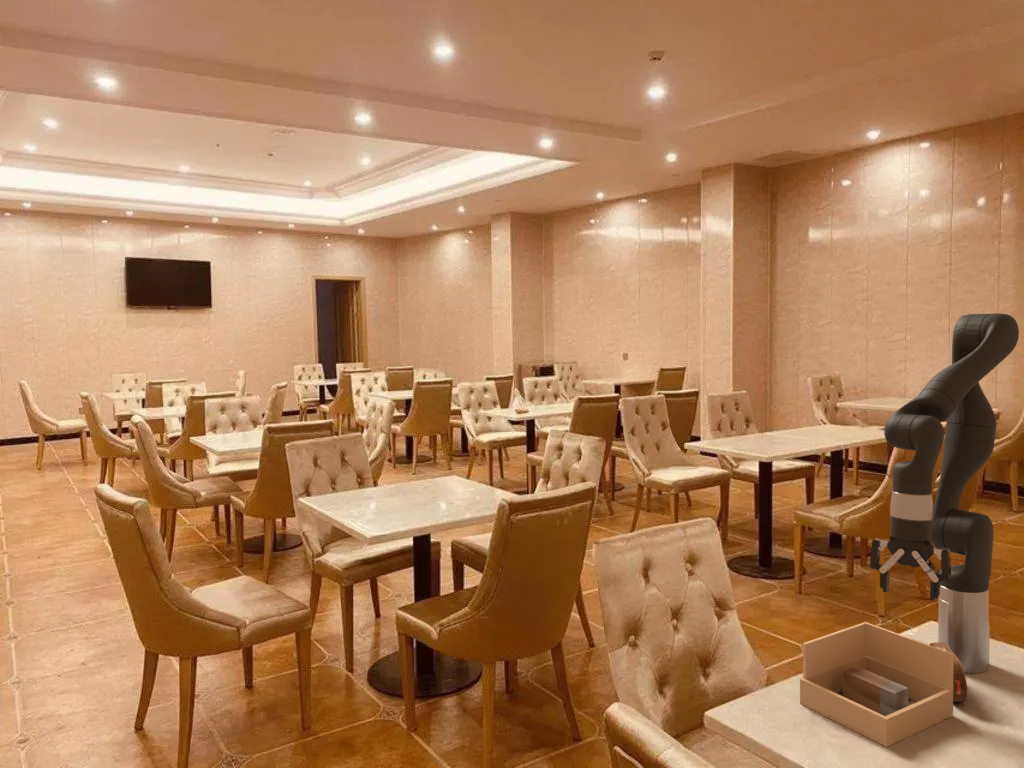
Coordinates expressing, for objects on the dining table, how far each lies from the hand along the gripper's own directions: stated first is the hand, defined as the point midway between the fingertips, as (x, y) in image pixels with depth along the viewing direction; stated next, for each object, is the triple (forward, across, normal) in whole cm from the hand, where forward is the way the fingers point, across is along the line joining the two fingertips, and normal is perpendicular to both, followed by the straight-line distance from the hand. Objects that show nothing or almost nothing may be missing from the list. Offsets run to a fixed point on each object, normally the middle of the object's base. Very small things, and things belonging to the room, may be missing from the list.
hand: (908, 595), depth 156 cm
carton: (+20, +3, +11) cm, 23 cm away
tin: (+19, -6, -4) cm, 21 cm away
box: (+20, +3, +11) cm, 23 cm away
